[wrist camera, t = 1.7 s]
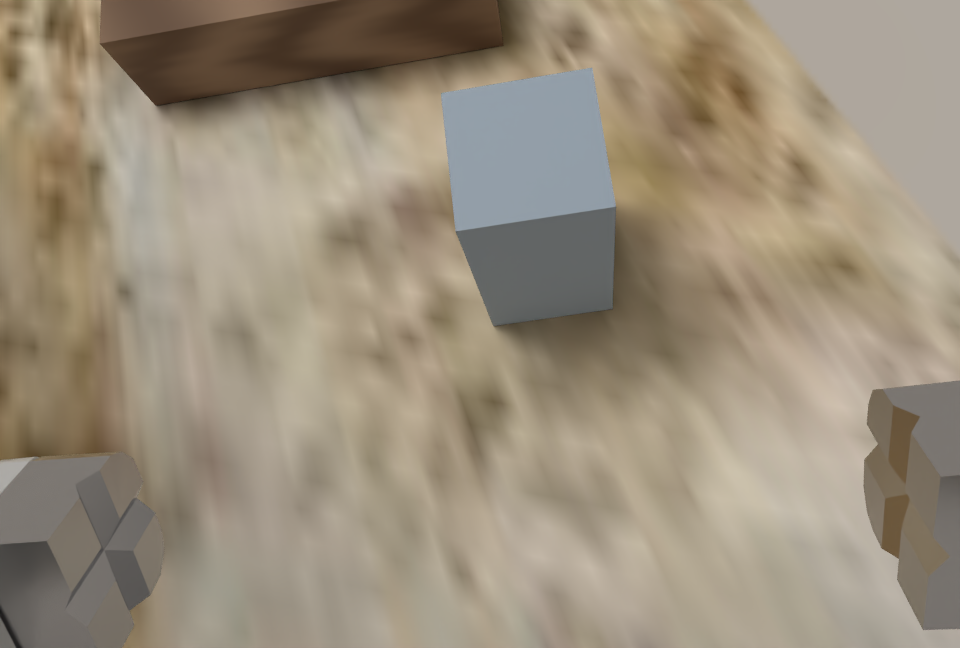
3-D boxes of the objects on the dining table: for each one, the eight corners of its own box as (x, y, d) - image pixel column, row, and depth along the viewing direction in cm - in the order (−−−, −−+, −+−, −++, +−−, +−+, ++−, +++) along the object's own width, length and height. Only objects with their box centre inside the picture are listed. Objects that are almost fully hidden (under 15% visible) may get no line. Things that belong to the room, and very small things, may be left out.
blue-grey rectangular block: (493, 326, 37) (455, 231, 28) (480, 218, 39) (440, 93, 29) (612, 309, 37) (615, 206, 27) (594, 200, 38) (591, 67, 29)
